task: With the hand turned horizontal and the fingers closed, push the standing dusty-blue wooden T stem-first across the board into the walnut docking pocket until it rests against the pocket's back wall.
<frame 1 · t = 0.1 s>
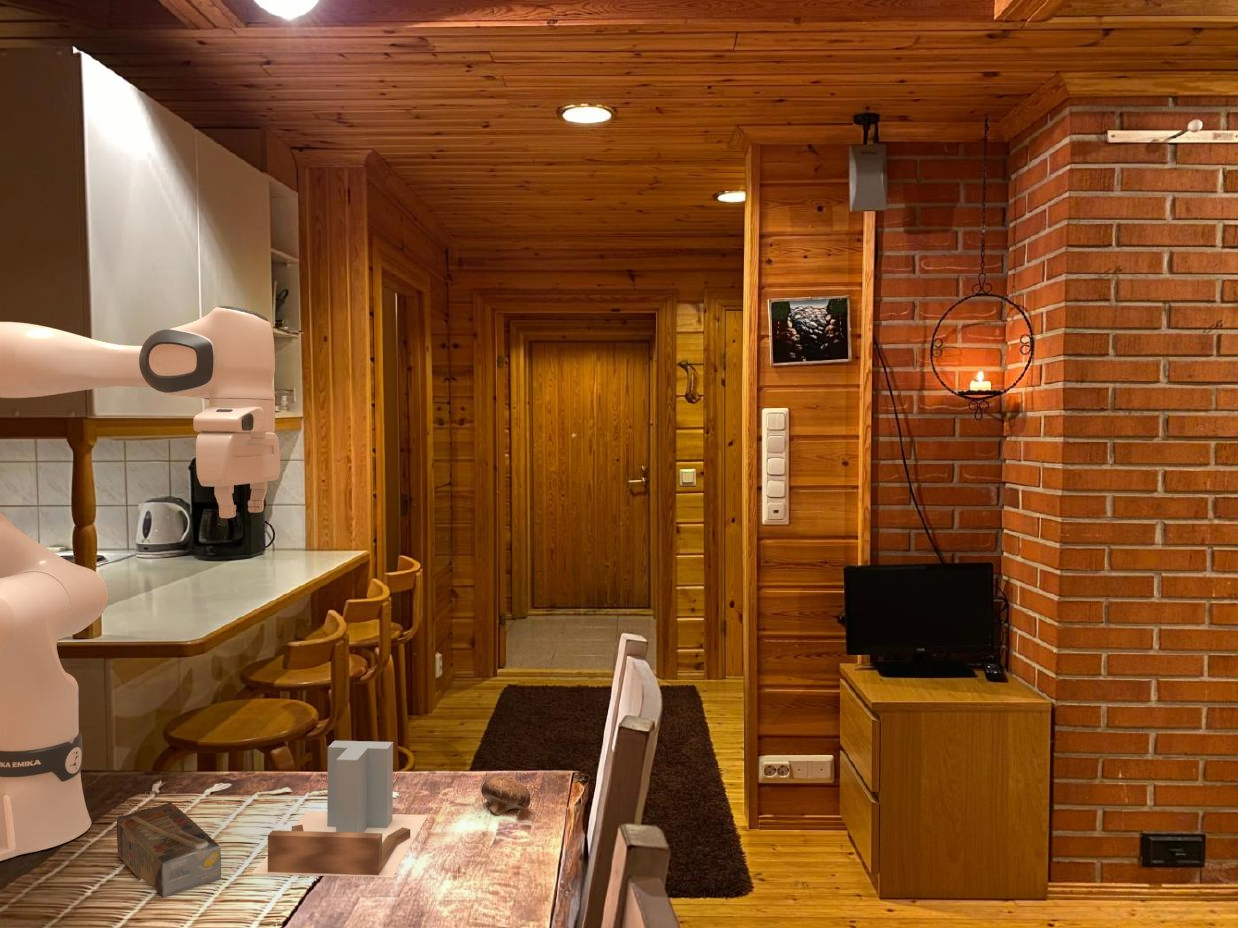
hand: (242, 514, 133), 48 cm above the table, fingers open, 8 cm apart
board: (346, 848, 132), on the table
tee block: (354, 829, 135), point 1 cm above the table, touching board
mushroom: (505, 814, 145), on the table
beverage carton: (167, 874, 124), on the table
dock fence: (336, 854, 127), resting on board
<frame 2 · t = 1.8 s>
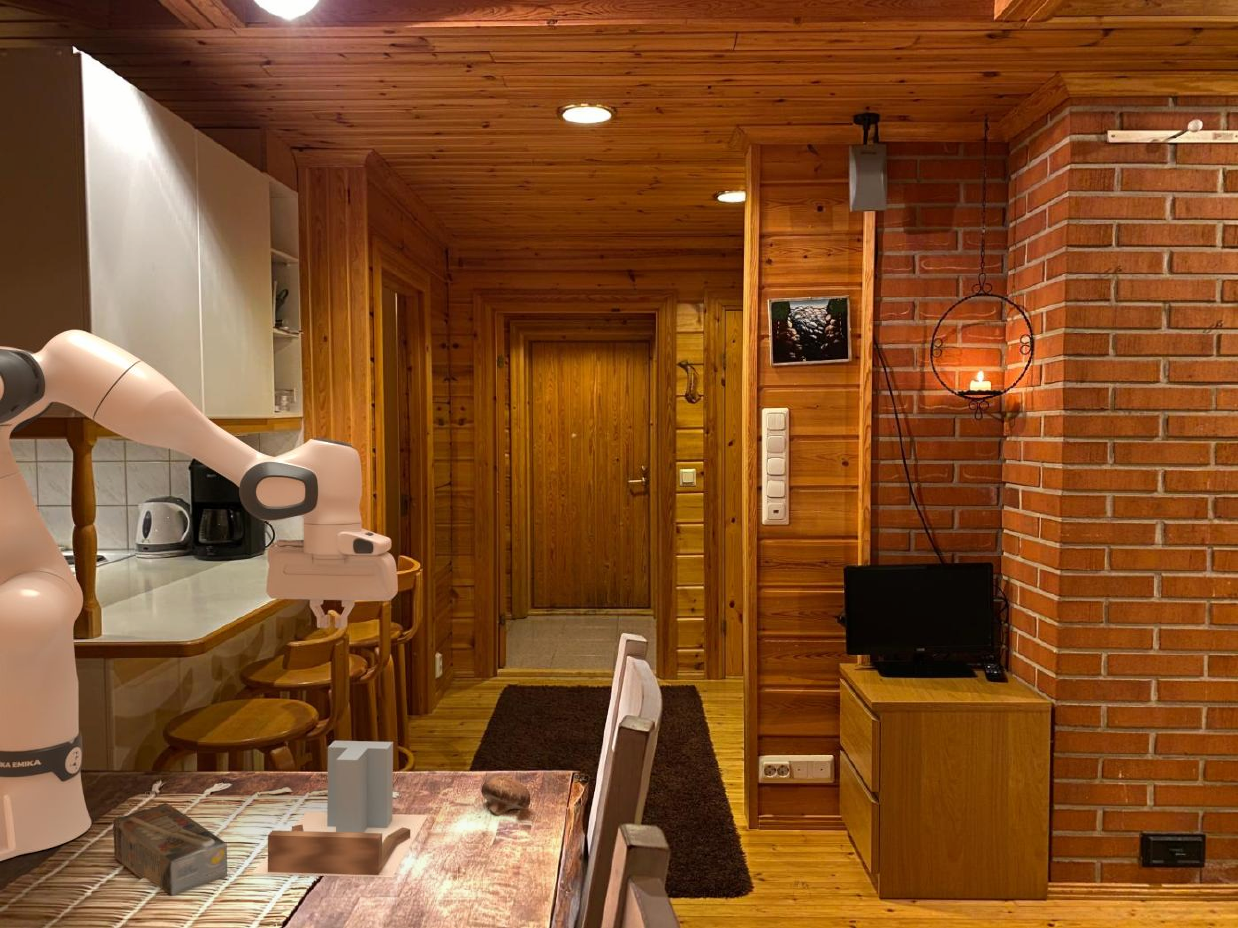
hand: (332, 627, 145), 29 cm above the table, fingers closed
nothing on the table moved.
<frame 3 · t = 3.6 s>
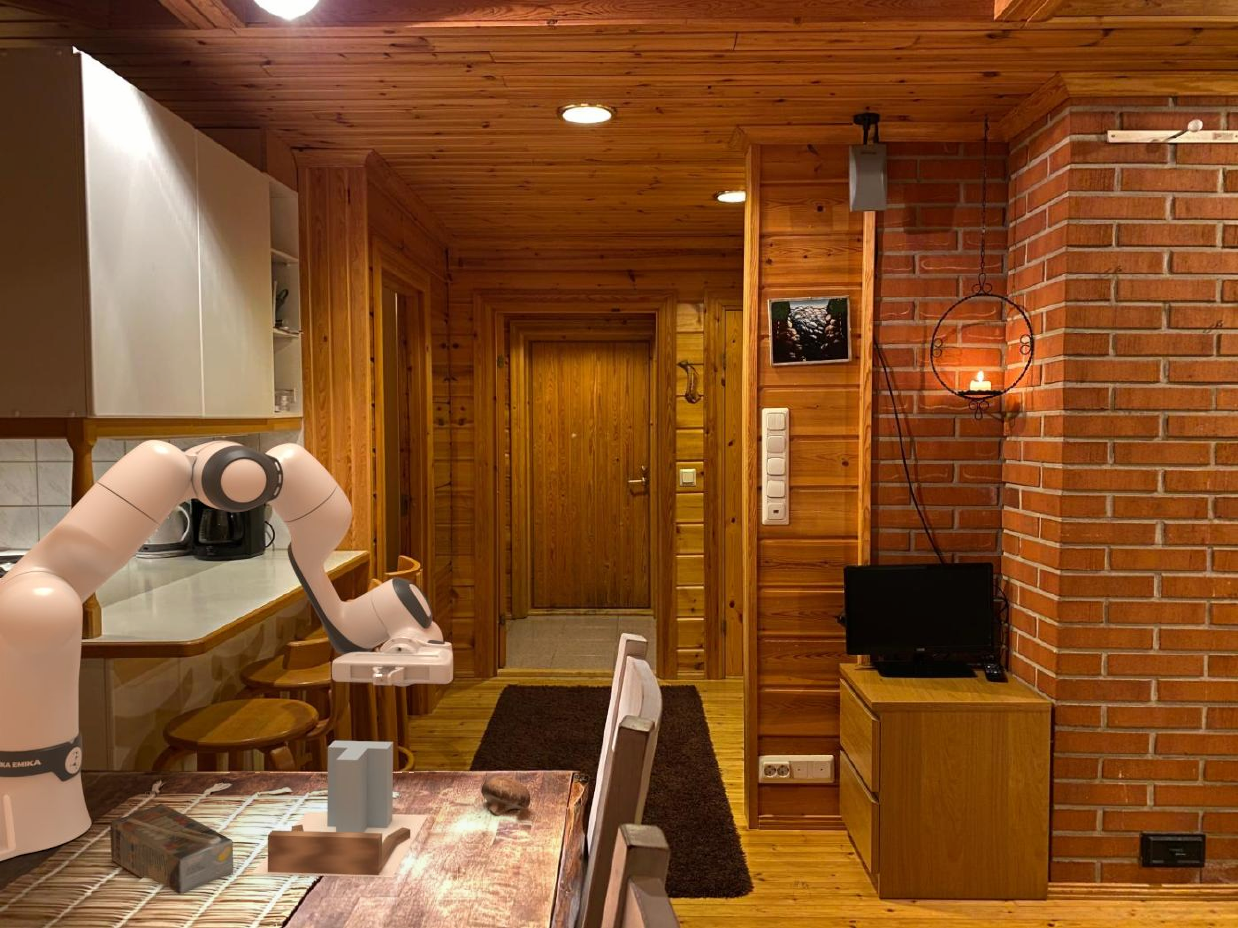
hand: (381, 680, 148), 20 cm above the table, fingers closed
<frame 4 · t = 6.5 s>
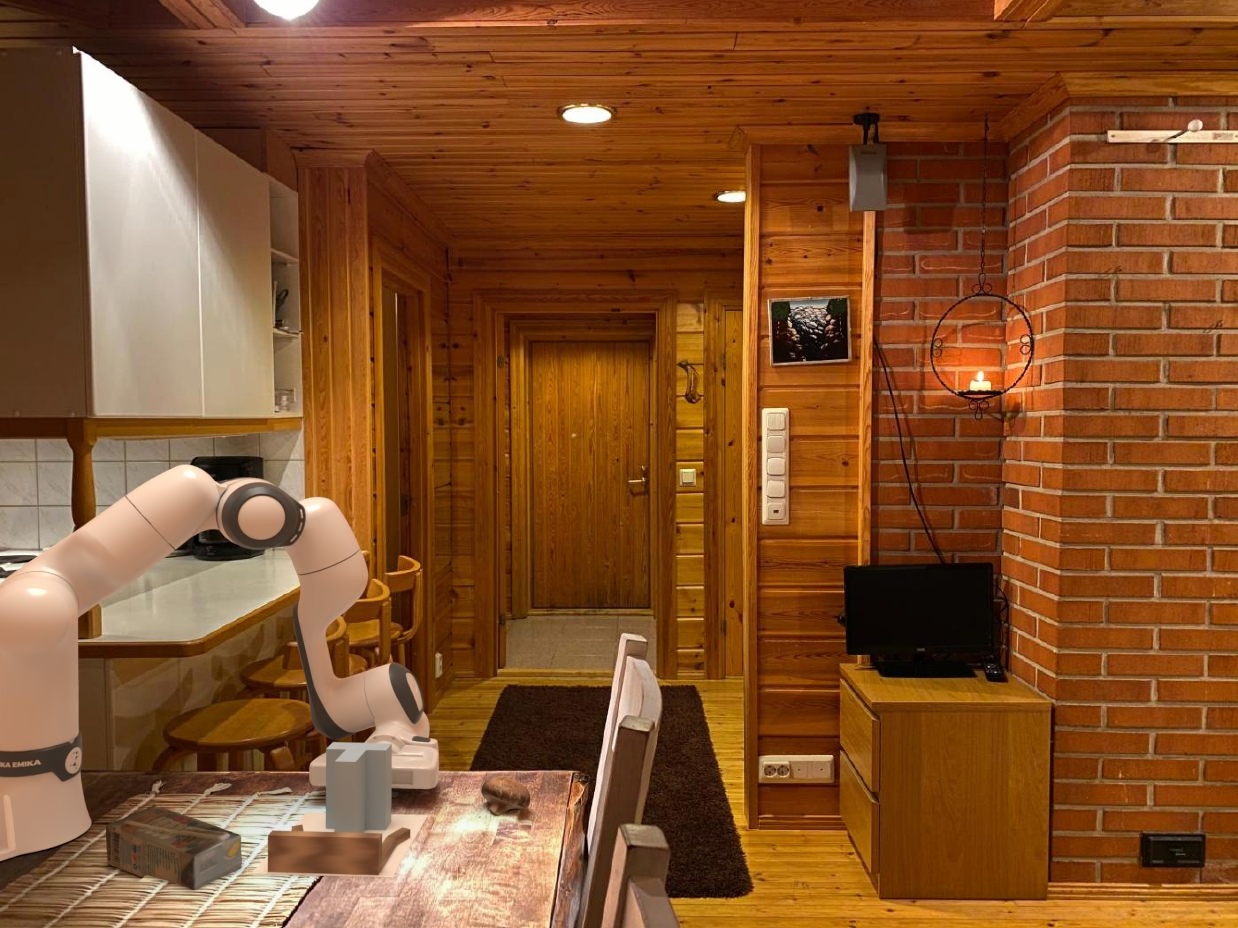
hand: (361, 788, 139), 6 cm above the table, fingers closed, pressing on tee block
tee block: (353, 832, 135), point 1 cm above the table, touching gripper
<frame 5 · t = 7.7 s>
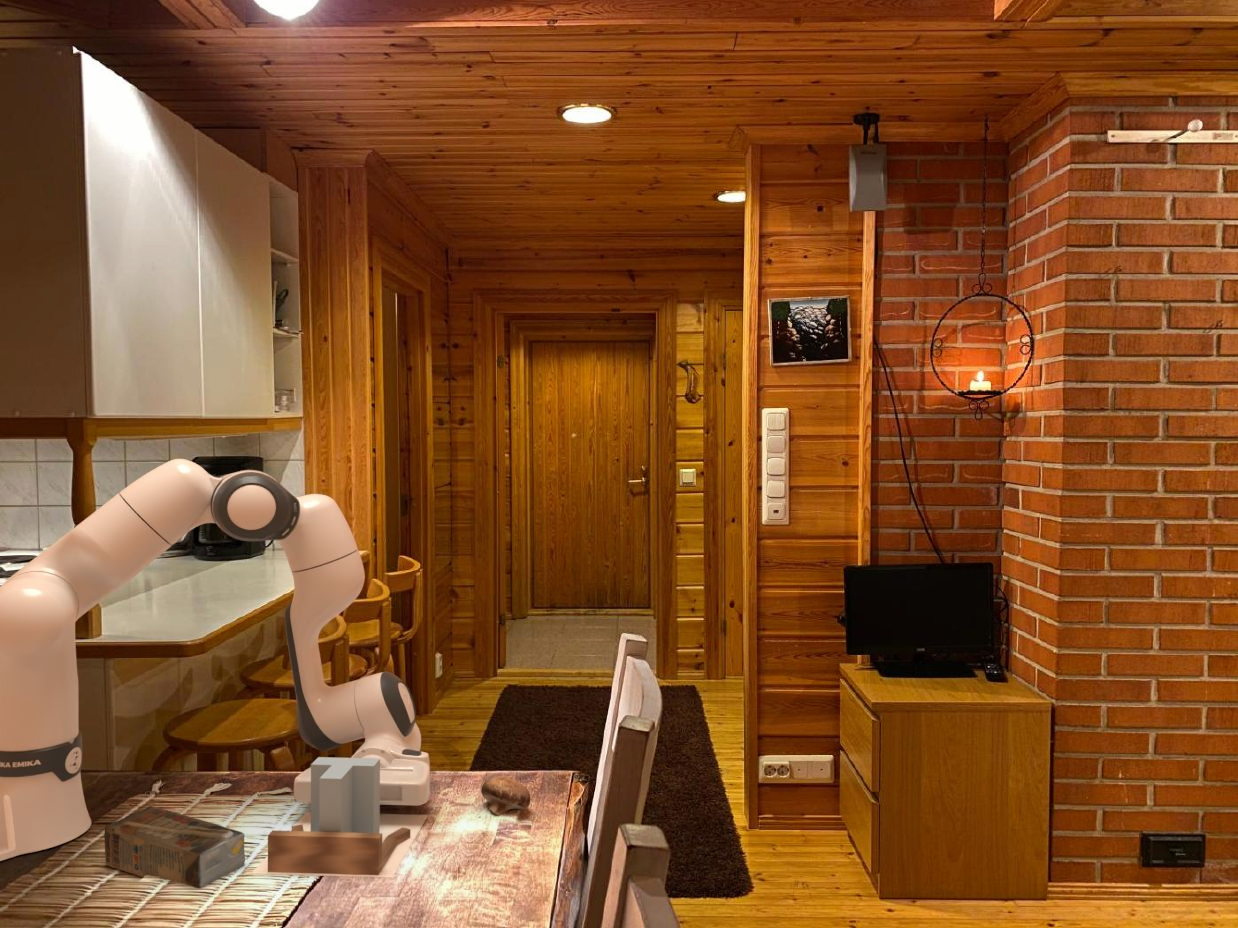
hand: (348, 805, 132), 6 cm above the table, fingers closed
tee block: (339, 851, 128), point 1 cm above the table
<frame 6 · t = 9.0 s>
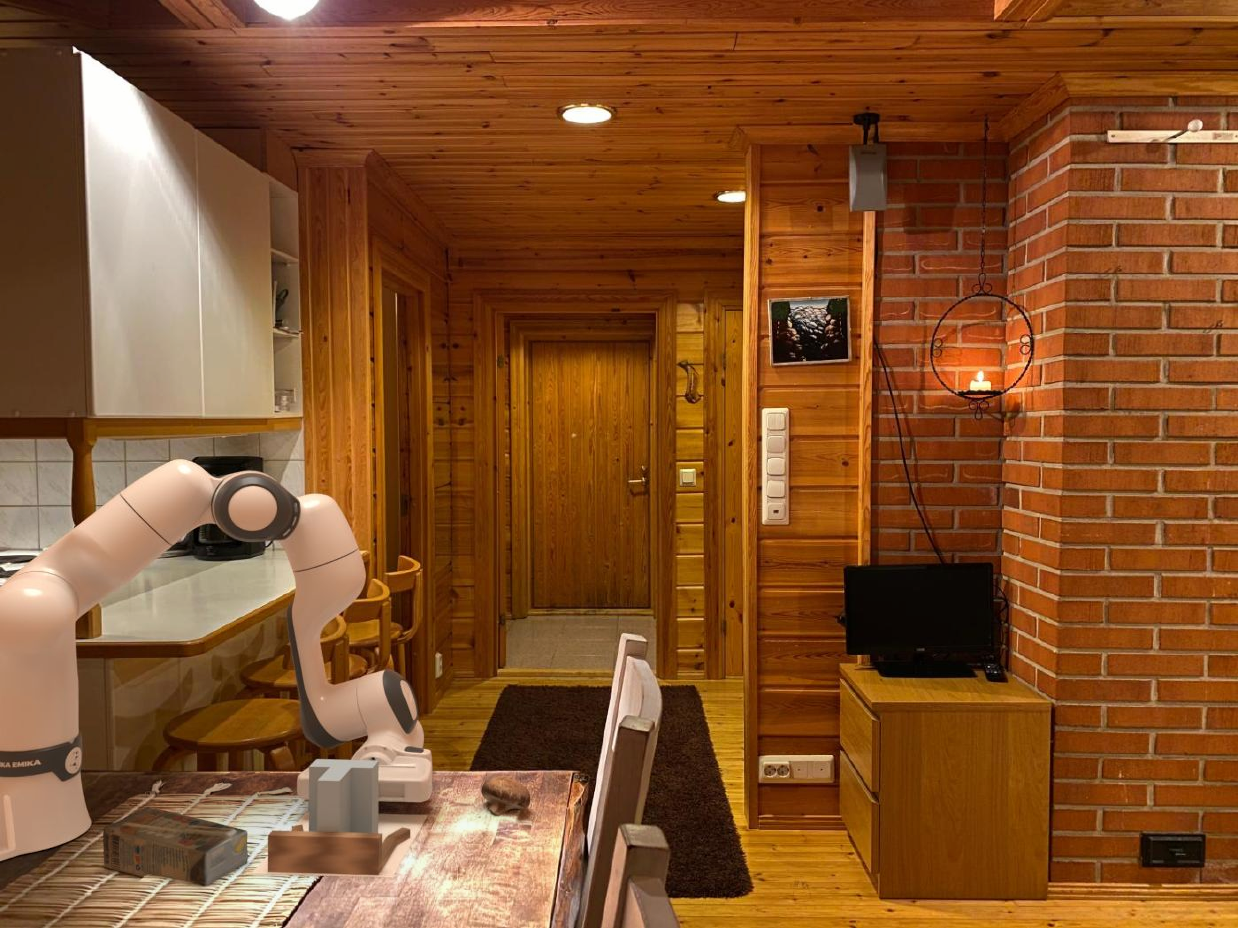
hand: (350, 802, 133), 6 cm above the table, fingers closed
tee block: (337, 854, 127), point 1 cm above the table, touching board, dock fence
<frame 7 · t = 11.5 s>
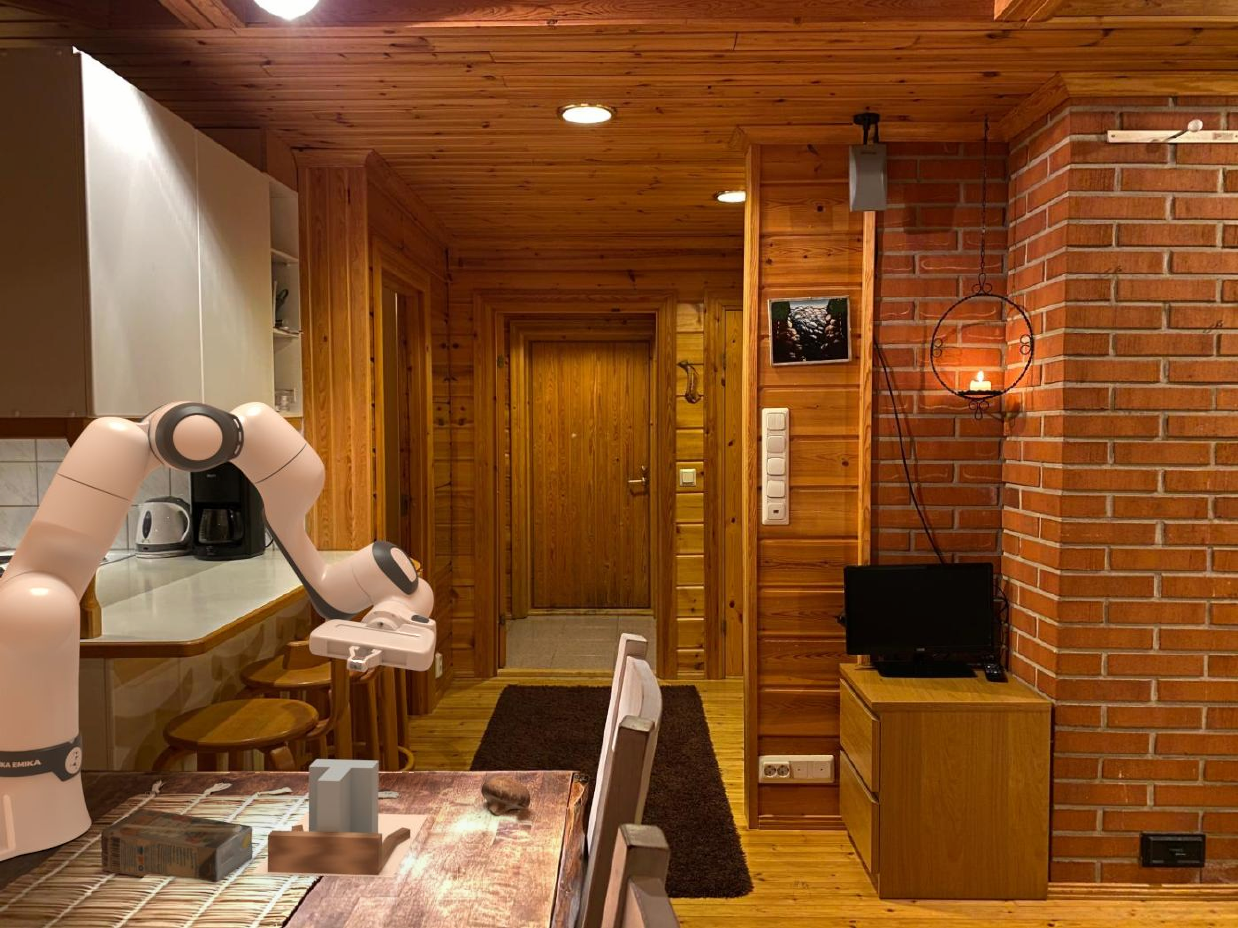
hand: (355, 666, 143), 23 cm above the table, fingers closed
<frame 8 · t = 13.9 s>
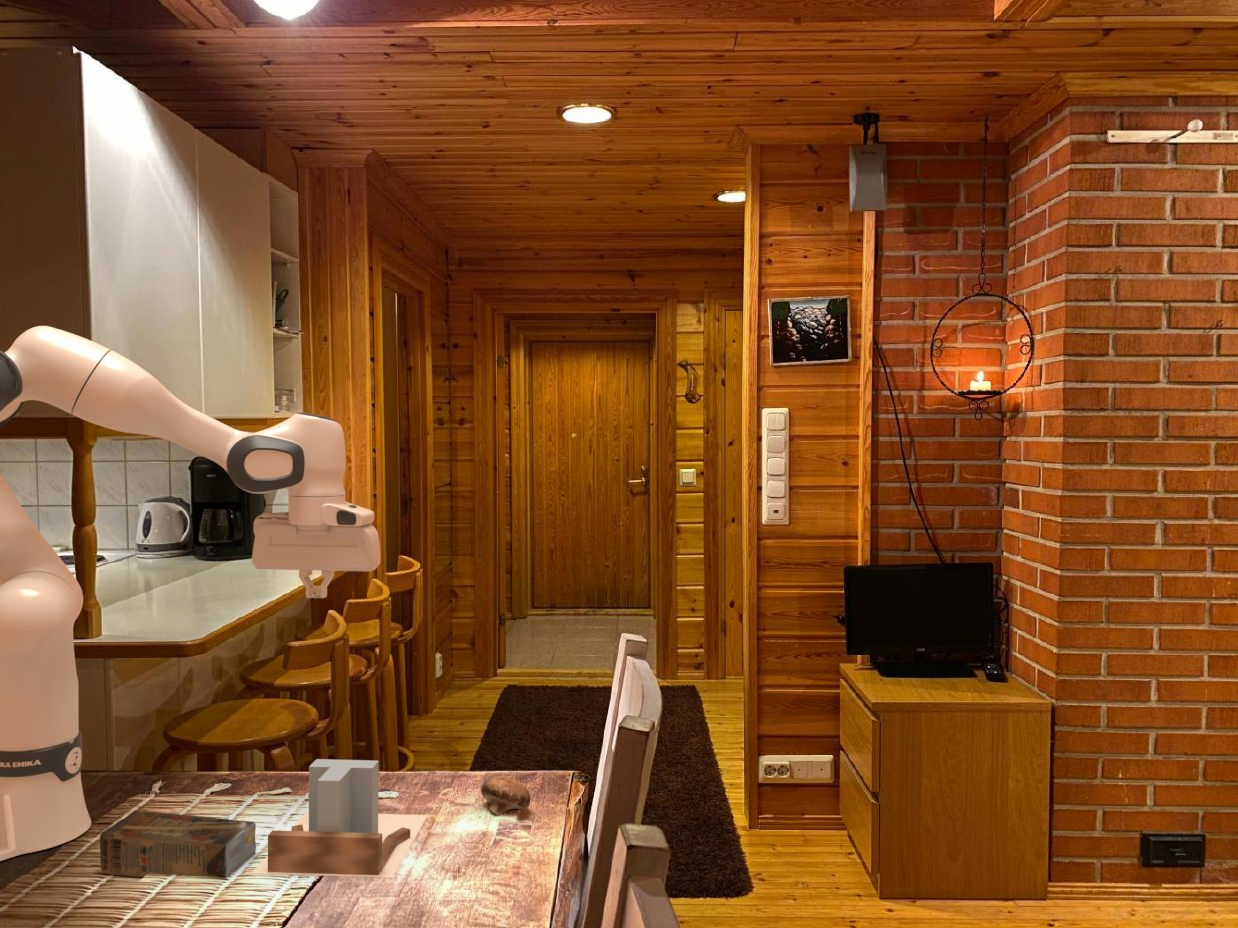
hand: (316, 597, 149), 33 cm above the table, fingers closed
tee block: (337, 854, 127), point 1 cm above the table, touching board
at the end: tee block 0.1 cm from the target spot, point 1.0 cm above the table; tee block tilted 0°; tee block touching board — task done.
